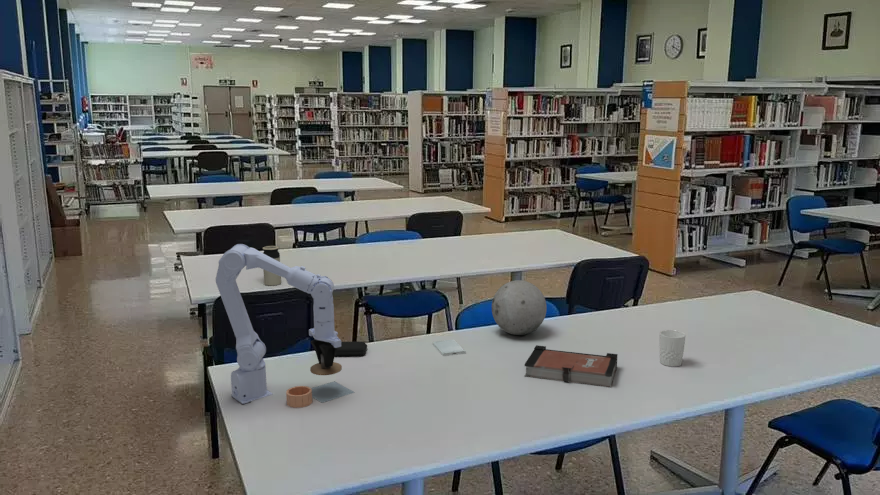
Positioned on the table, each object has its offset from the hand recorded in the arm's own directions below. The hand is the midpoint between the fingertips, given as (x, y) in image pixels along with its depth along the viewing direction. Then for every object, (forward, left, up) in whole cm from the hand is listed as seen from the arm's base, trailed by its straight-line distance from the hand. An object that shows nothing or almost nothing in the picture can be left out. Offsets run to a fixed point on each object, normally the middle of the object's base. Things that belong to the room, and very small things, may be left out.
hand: (325, 364), depth 196 cm
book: (+66, -37, -10) cm, 76 cm away
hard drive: (+52, +5, -10) cm, 53 cm away
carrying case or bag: (+23, +27, -10) cm, 37 cm away
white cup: (+97, -53, -9) cm, 110 cm away
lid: (0, 0, -1) cm, 1 cm away
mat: (+1, 0, -9) cm, 9 cm away
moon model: (+82, 0, -9) cm, 82 cm away
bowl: (-9, -1, -9) cm, 13 cm away
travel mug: (+49, +130, -9) cm, 139 cm away
